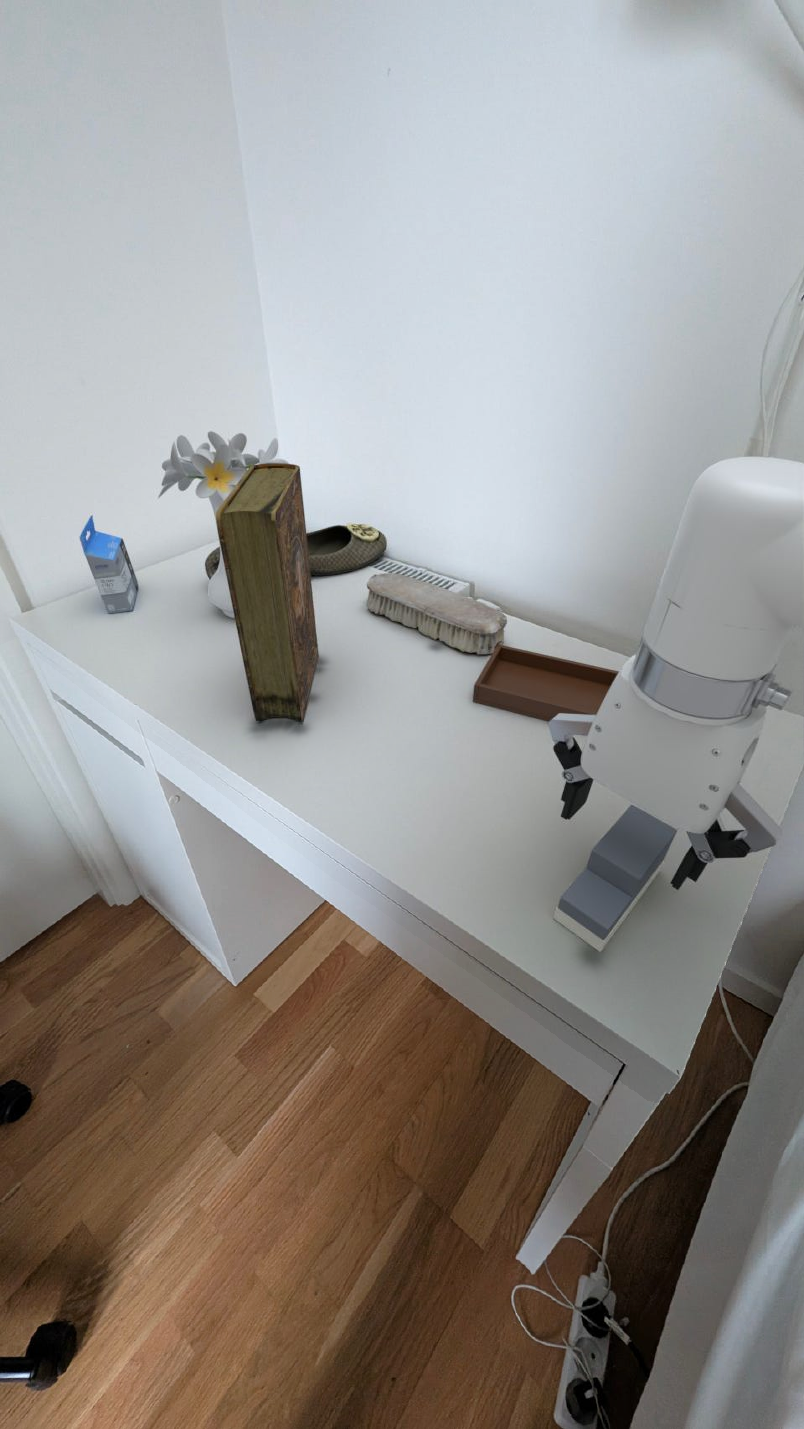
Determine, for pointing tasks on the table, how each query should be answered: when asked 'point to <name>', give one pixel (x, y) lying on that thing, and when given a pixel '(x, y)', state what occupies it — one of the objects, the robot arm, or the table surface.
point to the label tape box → (110, 568)
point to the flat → (332, 549)
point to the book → (271, 587)
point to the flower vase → (214, 485)
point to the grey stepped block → (615, 877)
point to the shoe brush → (437, 612)
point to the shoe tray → (541, 684)
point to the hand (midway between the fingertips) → (624, 841)
